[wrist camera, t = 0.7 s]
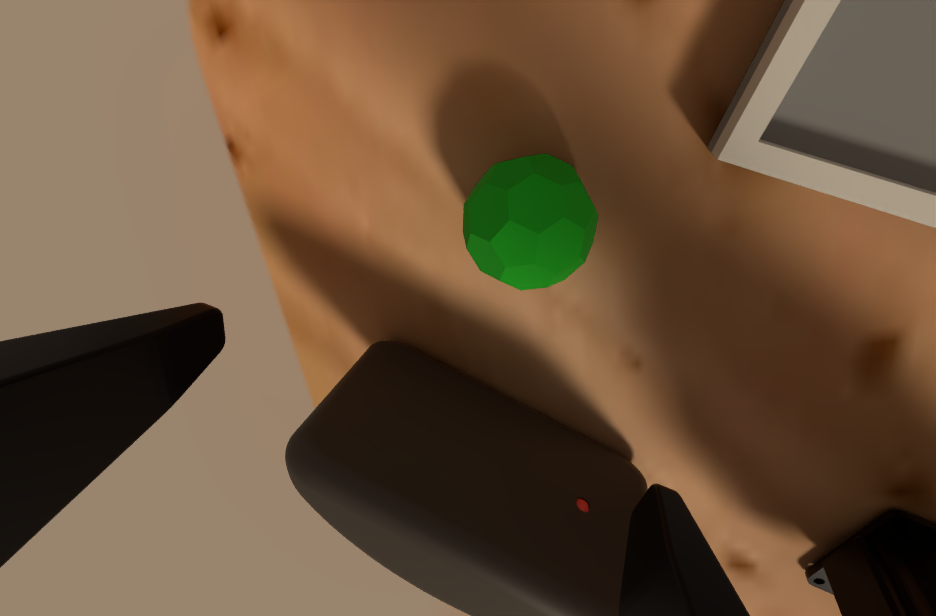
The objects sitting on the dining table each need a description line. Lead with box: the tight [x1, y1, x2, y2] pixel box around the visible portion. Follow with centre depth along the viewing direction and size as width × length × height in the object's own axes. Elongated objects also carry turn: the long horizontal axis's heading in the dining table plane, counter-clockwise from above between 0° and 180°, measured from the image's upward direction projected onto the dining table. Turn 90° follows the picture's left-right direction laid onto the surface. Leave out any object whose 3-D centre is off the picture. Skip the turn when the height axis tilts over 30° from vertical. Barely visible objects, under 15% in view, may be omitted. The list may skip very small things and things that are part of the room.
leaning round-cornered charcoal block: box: [285, 341, 648, 616], centre depth 21 cm, size 16×5×9 cm, turn 70°
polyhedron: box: [463, 153, 598, 290], centre depth 17 cm, size 5×5×5 cm
